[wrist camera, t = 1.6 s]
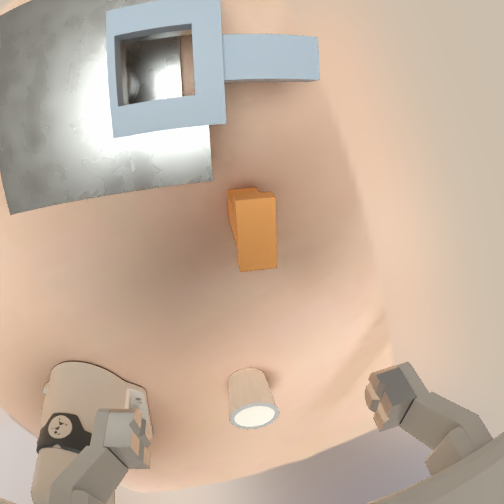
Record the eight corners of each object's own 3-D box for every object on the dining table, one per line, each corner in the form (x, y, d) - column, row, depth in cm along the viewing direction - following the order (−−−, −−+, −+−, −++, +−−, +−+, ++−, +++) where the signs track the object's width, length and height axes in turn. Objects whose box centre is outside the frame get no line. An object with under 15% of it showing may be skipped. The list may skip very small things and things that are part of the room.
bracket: (307, 118, 20) (323, 120, 18) (124, 134, 19) (113, 138, 16) (302, 10, 17) (317, -1, 14) (117, 22, 15) (106, 11, 12)
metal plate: (208, 156, 29) (213, 180, 20) (58, 181, 27) (10, 214, 18) (199, 2, 21) (201, -42, 13) (45, 36, 19) (-8, 19, 11)
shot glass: (221, 368, 42) (226, 407, 36) (268, 361, 43) (279, 399, 36) (226, 396, 45) (232, 432, 39) (269, 389, 46) (279, 424, 40)
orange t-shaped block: (257, 228, 33) (276, 267, 26) (229, 231, 33) (240, 272, 25) (255, 172, 30) (275, 197, 23) (225, 175, 30) (235, 200, 22)
